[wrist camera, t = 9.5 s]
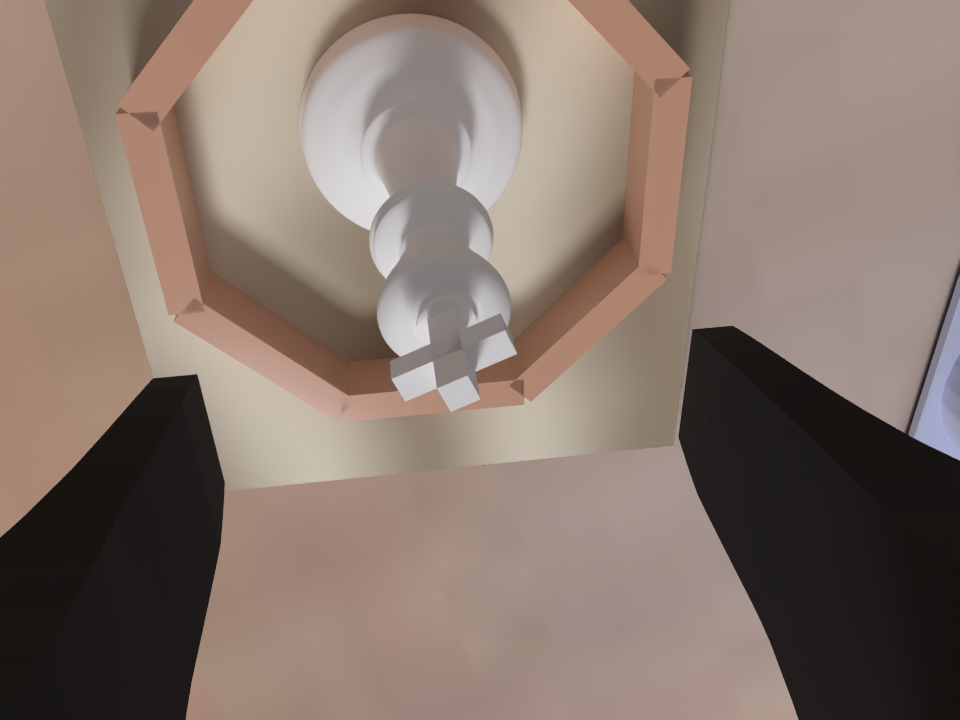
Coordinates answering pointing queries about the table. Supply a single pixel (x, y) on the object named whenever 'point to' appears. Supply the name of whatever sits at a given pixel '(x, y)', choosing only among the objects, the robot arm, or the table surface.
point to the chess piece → (421, 187)
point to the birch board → (345, 245)
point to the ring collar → (368, 383)
